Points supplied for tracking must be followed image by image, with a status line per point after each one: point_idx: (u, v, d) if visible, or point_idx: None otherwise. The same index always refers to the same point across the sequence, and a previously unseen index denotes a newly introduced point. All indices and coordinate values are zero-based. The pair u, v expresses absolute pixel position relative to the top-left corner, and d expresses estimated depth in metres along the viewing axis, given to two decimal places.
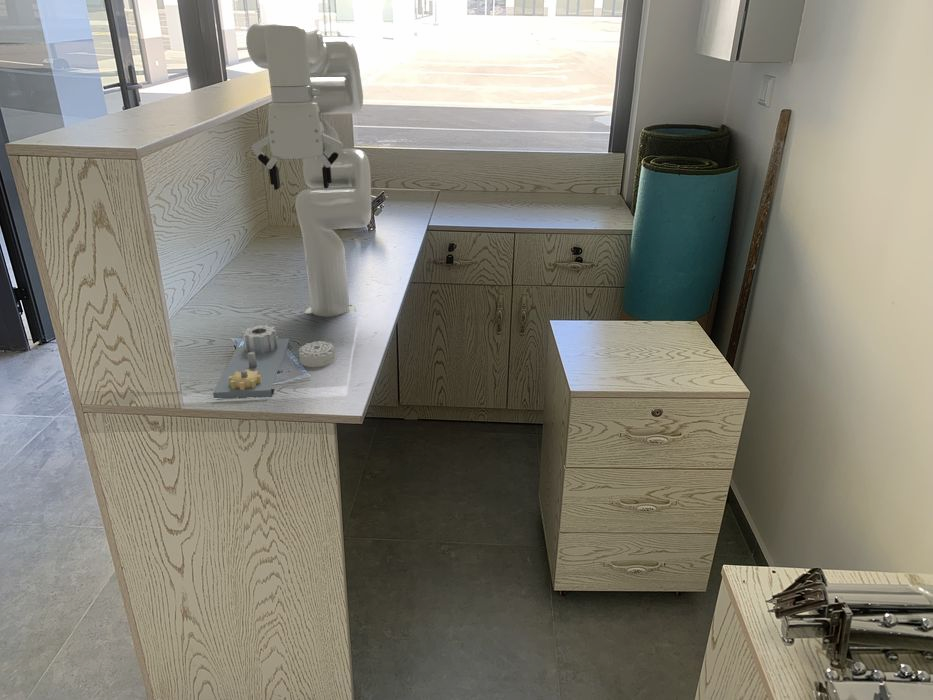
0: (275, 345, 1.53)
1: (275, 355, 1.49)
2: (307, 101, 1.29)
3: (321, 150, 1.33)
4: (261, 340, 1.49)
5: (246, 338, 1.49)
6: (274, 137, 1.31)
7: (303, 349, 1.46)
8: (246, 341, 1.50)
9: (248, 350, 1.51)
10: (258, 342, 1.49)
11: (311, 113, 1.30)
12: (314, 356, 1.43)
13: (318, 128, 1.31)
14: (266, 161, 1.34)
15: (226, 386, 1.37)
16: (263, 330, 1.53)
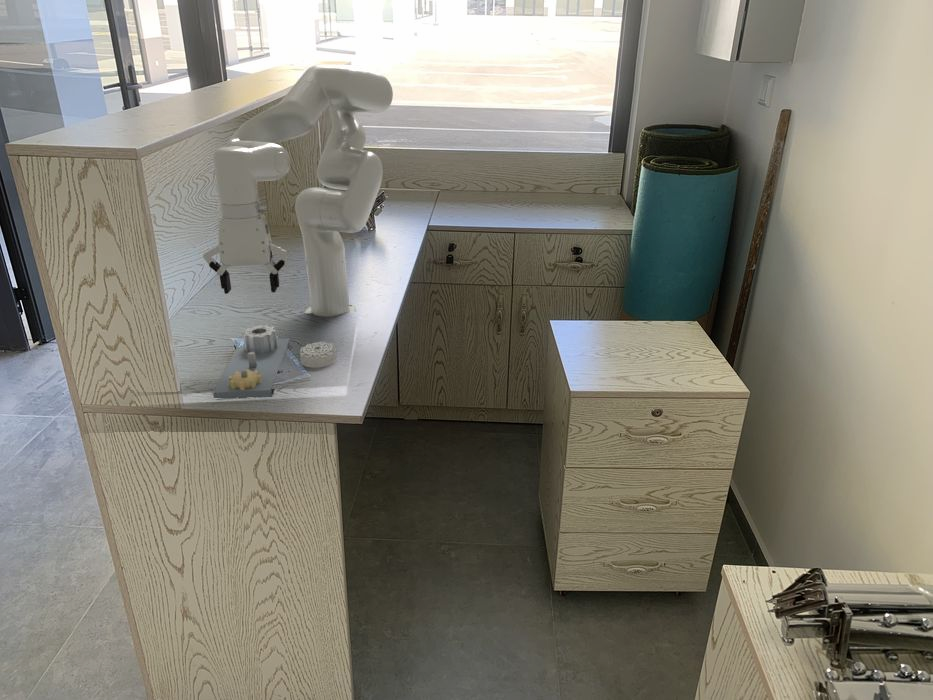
0: (275, 345, 1.53)
1: (275, 355, 1.49)
2: (254, 216, 1.39)
3: (268, 259, 1.43)
4: (261, 340, 1.49)
5: (246, 338, 1.49)
6: (224, 248, 1.41)
7: (304, 350, 1.45)
8: (246, 341, 1.50)
9: (248, 350, 1.51)
10: (258, 342, 1.49)
11: (258, 227, 1.40)
12: (315, 357, 1.43)
13: (265, 240, 1.41)
14: (217, 268, 1.44)
15: (226, 386, 1.37)
16: (263, 330, 1.53)
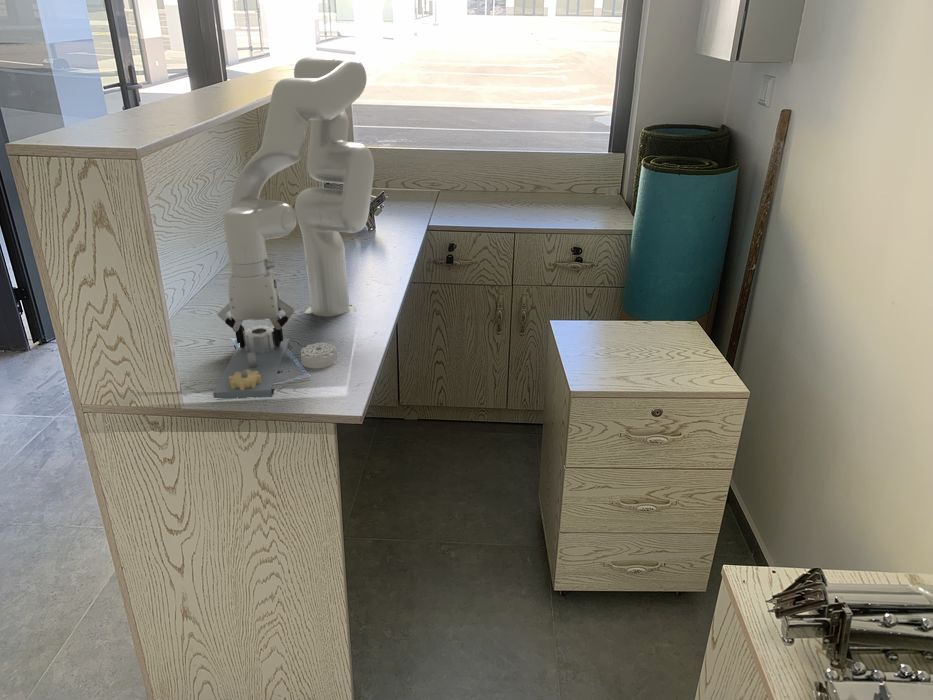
0: (275, 345, 1.53)
1: (275, 355, 1.49)
2: (262, 274, 1.44)
3: (276, 313, 1.48)
4: (261, 340, 1.49)
5: (246, 338, 1.49)
6: (234, 303, 1.46)
7: (305, 350, 1.45)
8: (246, 341, 1.50)
9: (248, 350, 1.51)
10: (258, 342, 1.49)
11: (266, 283, 1.45)
12: (316, 357, 1.43)
13: (273, 295, 1.46)
14: (232, 324, 1.49)
15: (226, 386, 1.37)
16: (263, 330, 1.53)
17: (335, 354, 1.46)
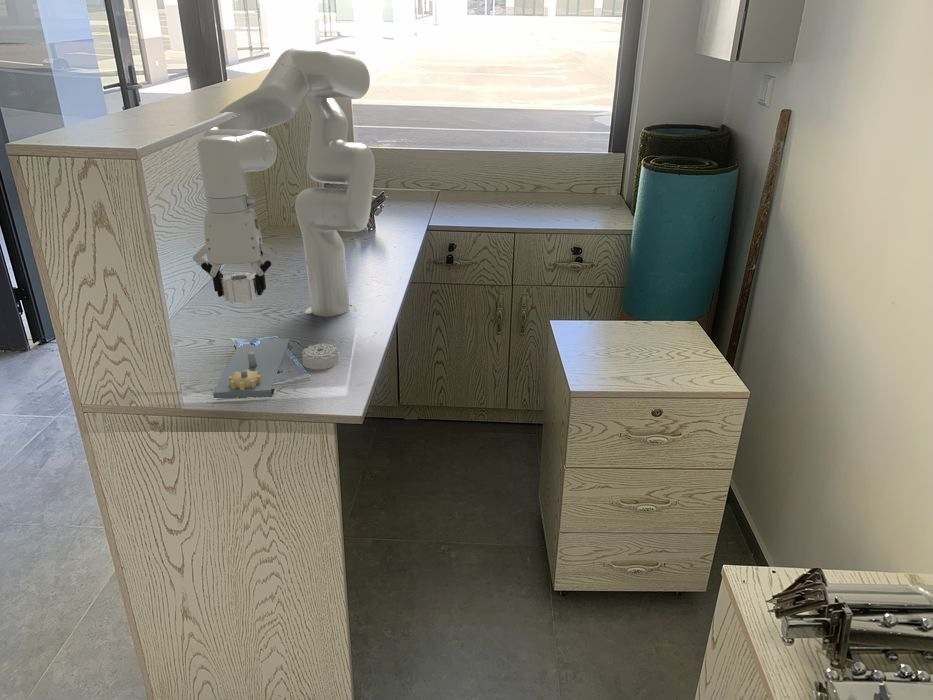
0: None
1: (275, 355, 1.49)
2: (242, 210, 1.29)
3: (258, 256, 1.33)
4: (241, 287, 1.34)
5: (224, 285, 1.34)
6: (210, 244, 1.31)
7: (306, 351, 1.45)
8: (224, 288, 1.35)
9: (227, 298, 1.36)
10: (237, 289, 1.34)
11: (246, 222, 1.30)
12: (317, 358, 1.42)
13: (254, 236, 1.31)
14: (209, 269, 1.34)
15: (226, 386, 1.37)
16: (243, 278, 1.38)
17: (337, 355, 1.45)
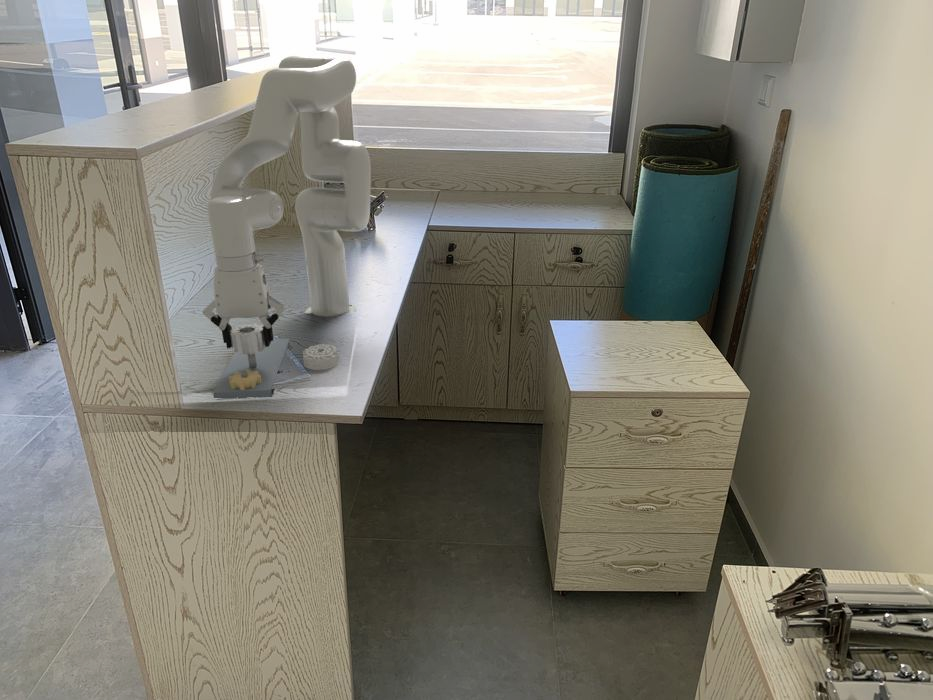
0: (264, 345, 1.42)
1: (275, 355, 1.49)
2: (250, 268, 1.33)
3: (266, 310, 1.38)
4: (249, 340, 1.38)
5: (233, 337, 1.39)
6: (220, 300, 1.36)
7: (307, 352, 1.44)
8: (233, 341, 1.39)
9: (235, 350, 1.40)
10: (245, 342, 1.39)
11: (255, 278, 1.34)
12: (318, 359, 1.42)
13: (262, 291, 1.36)
14: (219, 323, 1.39)
15: (226, 386, 1.37)
16: (251, 329, 1.43)
17: (337, 356, 1.45)
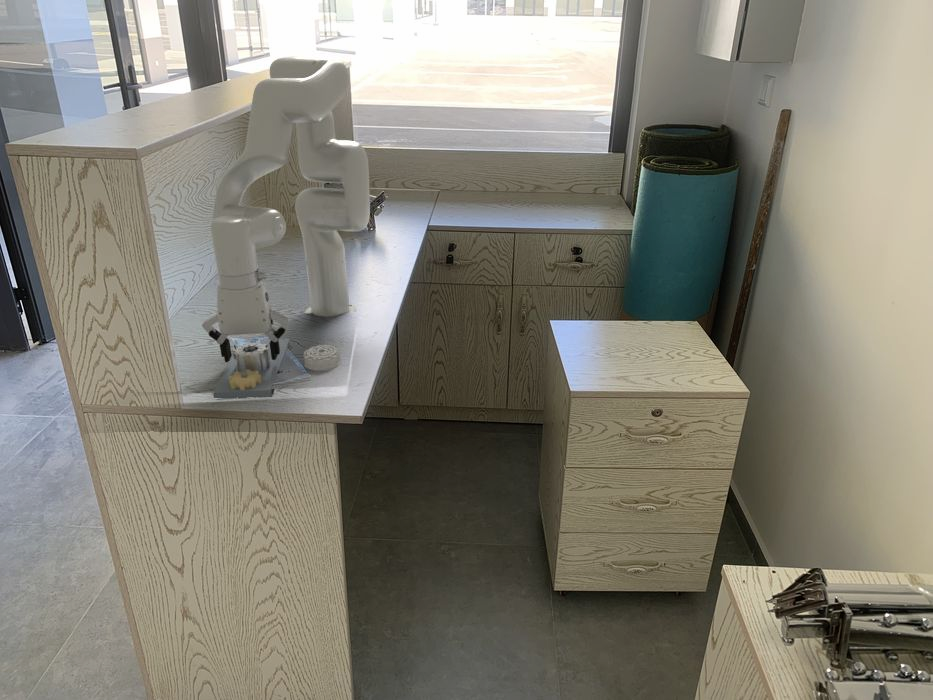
0: (267, 364, 1.44)
1: None
2: (253, 286, 1.35)
3: (268, 327, 1.39)
4: (252, 359, 1.40)
5: (237, 357, 1.41)
6: (223, 317, 1.37)
7: (308, 352, 1.44)
8: (237, 360, 1.41)
9: (239, 369, 1.42)
10: (249, 361, 1.41)
11: (257, 296, 1.36)
12: (319, 360, 1.42)
13: (265, 309, 1.37)
14: (217, 337, 1.40)
15: (226, 386, 1.37)
16: (255, 348, 1.44)
17: (338, 356, 1.45)
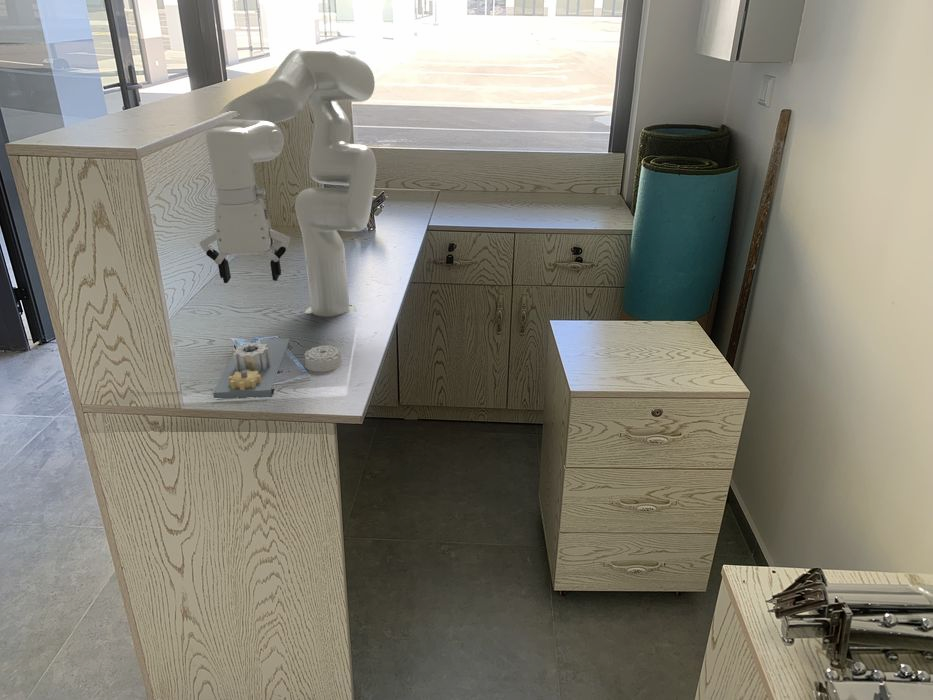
0: (267, 364, 1.44)
1: (275, 355, 1.49)
2: (252, 201, 1.30)
3: (268, 246, 1.35)
4: (252, 359, 1.40)
5: (237, 357, 1.41)
6: (221, 235, 1.33)
7: (309, 353, 1.44)
8: (237, 360, 1.41)
9: (239, 369, 1.42)
10: (249, 361, 1.41)
11: (256, 212, 1.31)
12: (320, 361, 1.41)
13: (264, 226, 1.33)
14: (215, 256, 1.36)
15: (226, 386, 1.37)
16: (255, 348, 1.44)
17: (339, 357, 1.44)
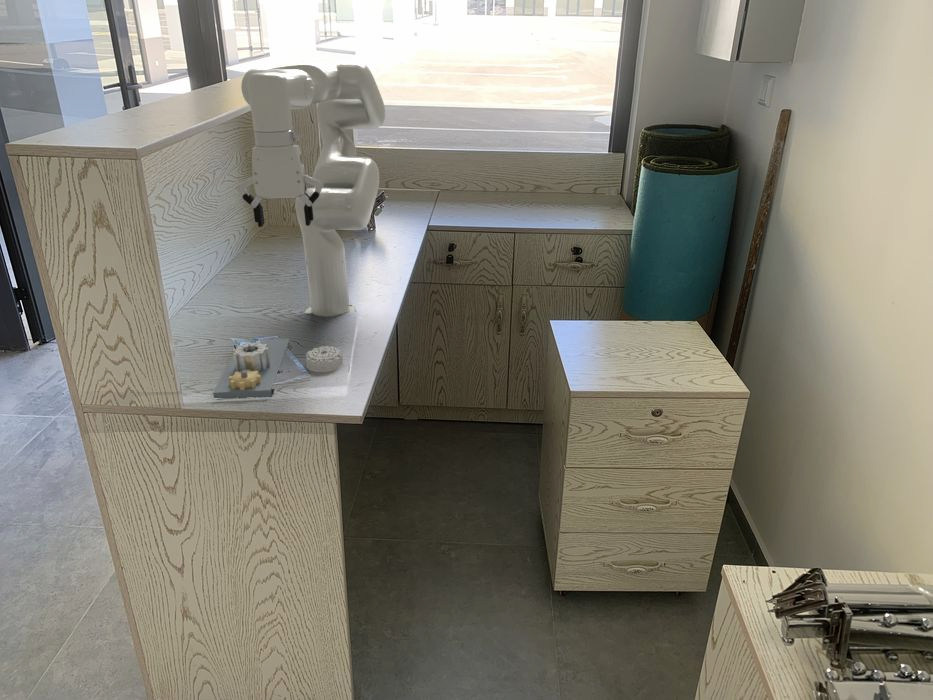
0: (267, 364, 1.44)
1: (275, 355, 1.49)
2: (289, 145, 1.36)
3: (303, 190, 1.40)
4: (252, 359, 1.40)
5: (237, 357, 1.41)
6: (258, 178, 1.38)
7: (310, 354, 1.43)
8: (237, 360, 1.41)
9: (239, 369, 1.42)
10: (249, 361, 1.41)
11: (293, 156, 1.37)
12: (321, 361, 1.41)
13: (299, 170, 1.38)
14: (250, 200, 1.41)
15: (226, 386, 1.37)
16: (255, 348, 1.44)
17: (341, 358, 1.44)
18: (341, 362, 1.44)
